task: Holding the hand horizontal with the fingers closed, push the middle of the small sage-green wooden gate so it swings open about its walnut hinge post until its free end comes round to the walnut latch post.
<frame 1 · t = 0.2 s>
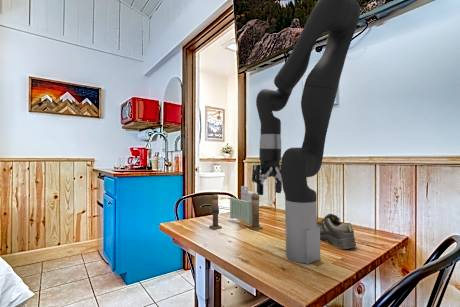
hand: (269, 193, 89), 18 cm above the table, tool pointing down, fingers open, 8 cm apart
ink box: (248, 213, 139), on the table
hinge post: (255, 228, 108), on the table
hiking shoe: (330, 241, 92), on the table
latch post: (215, 228, 110), on the table
gate: (240, 210, 117), point 6 cm above the table, hinge at 0.0°
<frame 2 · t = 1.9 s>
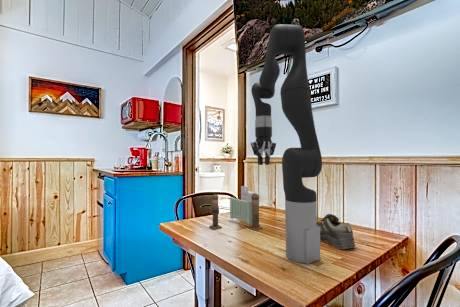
hand: (263, 164, 114), 27 cm above the table, tool pointing down, fingers open, 3 cm apart
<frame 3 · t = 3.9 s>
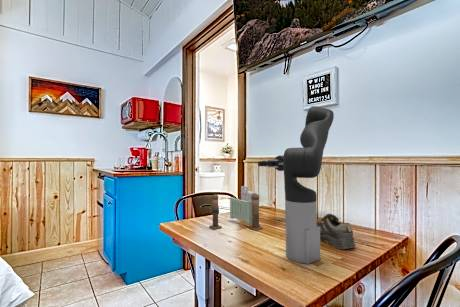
hand: (259, 163, 116), 28 cm above the table, tool horizontal, fingers closed
nothing on the table moved.
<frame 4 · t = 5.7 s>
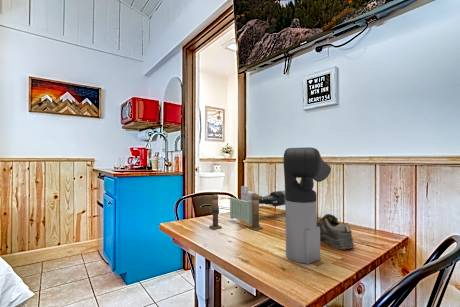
hand: (254, 202, 123), 9 cm above the table, tool horizontal, fingers closed
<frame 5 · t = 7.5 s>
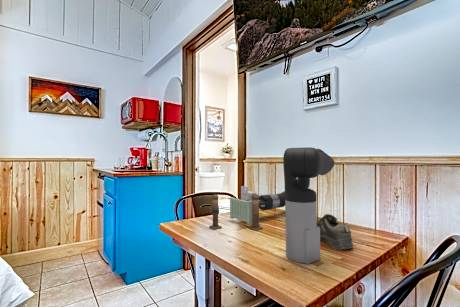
hand: (241, 205, 118), 8 cm above the table, tool horizontal, fingers closed
gate: (240, 210, 117), point 6 cm above the table, hinge at 0.1°, touching gripper
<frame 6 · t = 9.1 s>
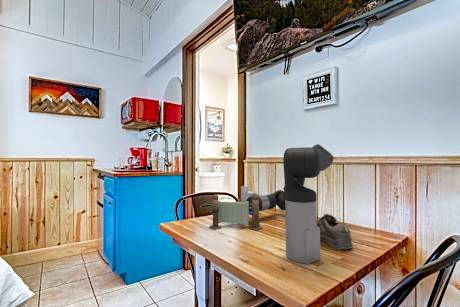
hand: (228, 207, 113), 8 cm above the table, tool horizontal, fingers closed
gate: (231, 212, 112), point 6 cm above the table, hinge at 38.0°, touching gripper
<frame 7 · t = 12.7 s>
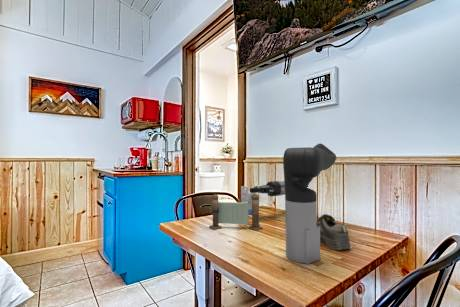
hand: (250, 190, 121), 15 cm above the table, tool horizontal, fingers closed
gate: (231, 213, 111), point 6 cm above the table, hinge at 43.0°, touching latch post
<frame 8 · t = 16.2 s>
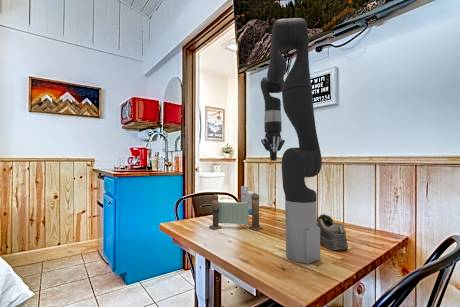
hand: (273, 160, 112), 29 cm above the table, tool pointing down, fingers closed
at the end: gate at +43° (first picture: +0°) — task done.
